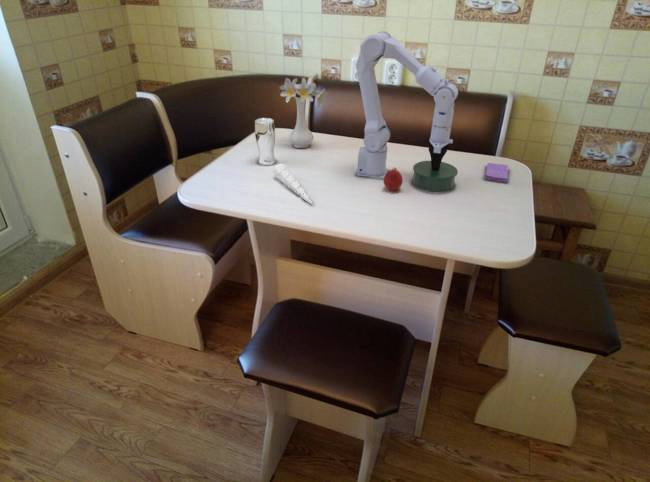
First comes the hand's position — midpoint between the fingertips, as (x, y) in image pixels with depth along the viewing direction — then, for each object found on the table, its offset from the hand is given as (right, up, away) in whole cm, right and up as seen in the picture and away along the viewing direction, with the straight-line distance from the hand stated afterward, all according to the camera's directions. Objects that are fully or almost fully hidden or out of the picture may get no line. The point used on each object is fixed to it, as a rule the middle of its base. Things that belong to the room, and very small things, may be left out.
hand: (435, 166), depth 145 cm
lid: (0, -1, +1) cm, 1 cm away
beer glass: (-56, +5, +18) cm, 59 cm away
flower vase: (-44, +14, +33) cm, 56 cm away
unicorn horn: (-45, -7, -1) cm, 46 cm away
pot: (0, -5, +3) cm, 6 cm away
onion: (-14, -8, -1) cm, 16 cm away
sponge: (+24, -1, +11) cm, 26 cm away
